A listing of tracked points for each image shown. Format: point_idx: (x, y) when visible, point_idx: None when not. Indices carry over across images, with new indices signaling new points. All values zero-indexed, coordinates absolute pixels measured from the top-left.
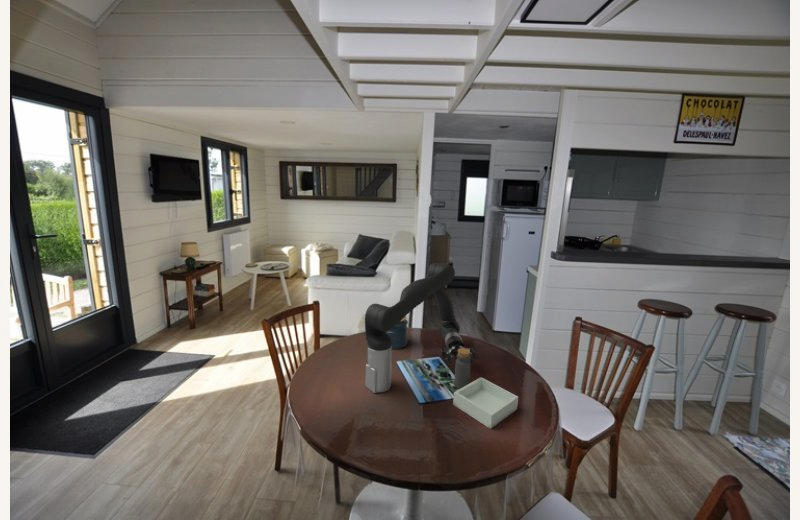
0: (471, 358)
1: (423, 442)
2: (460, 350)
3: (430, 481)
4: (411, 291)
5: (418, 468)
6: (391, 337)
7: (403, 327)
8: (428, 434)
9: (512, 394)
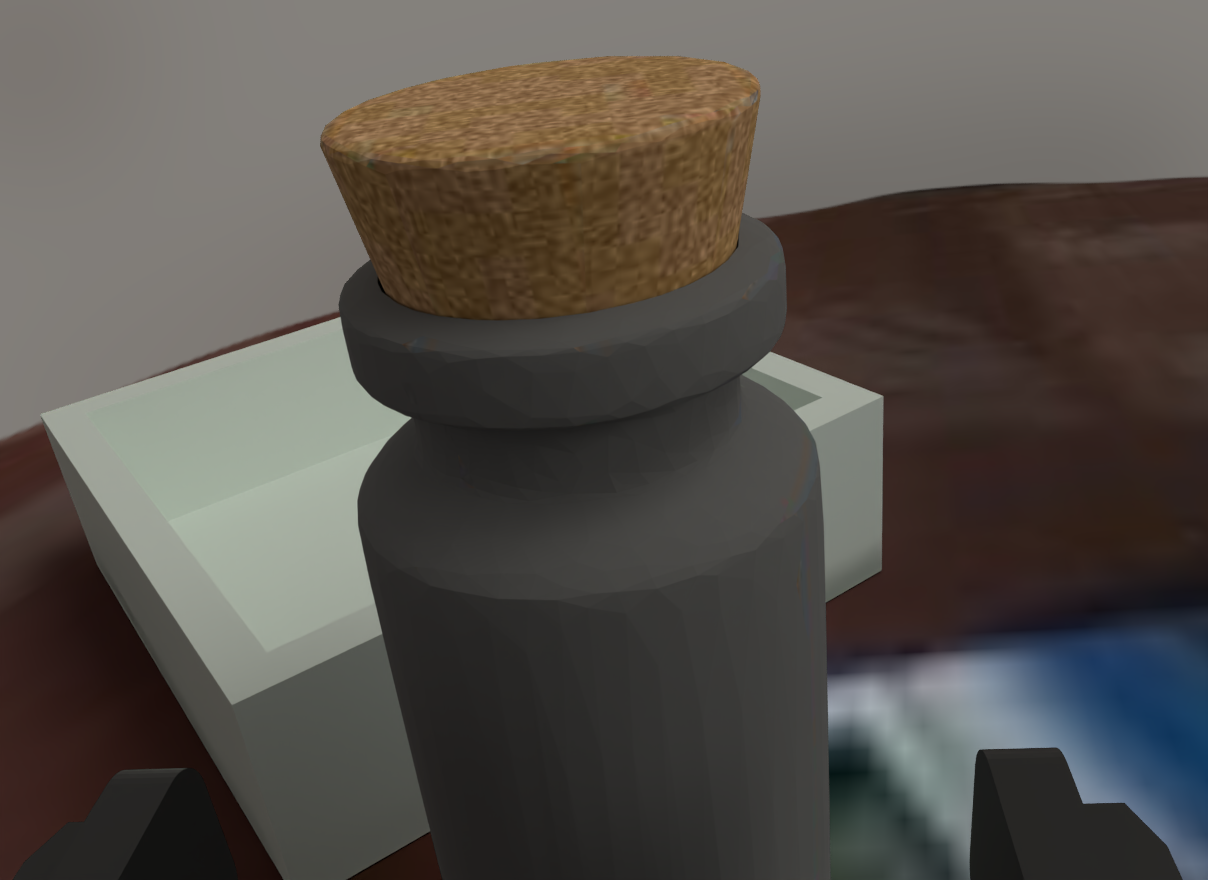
0: (144, 769)
1: (1133, 282)
2: (657, 85)
3: (1023, 185)
4: None
5: (1111, 205)
6: None
7: None
8: (1112, 319)
9: (71, 434)
